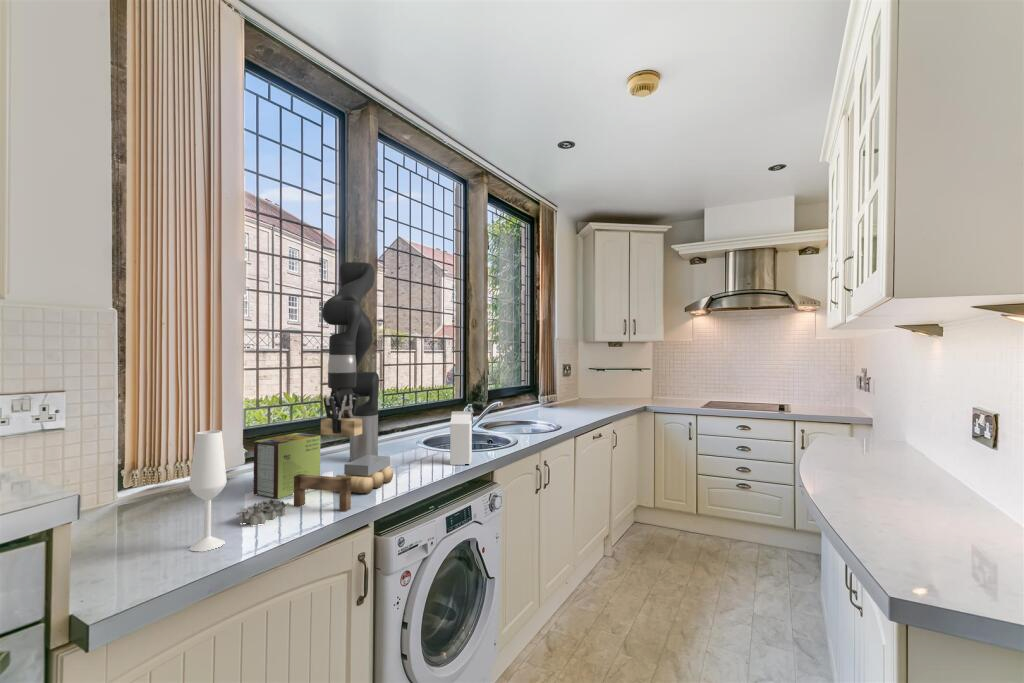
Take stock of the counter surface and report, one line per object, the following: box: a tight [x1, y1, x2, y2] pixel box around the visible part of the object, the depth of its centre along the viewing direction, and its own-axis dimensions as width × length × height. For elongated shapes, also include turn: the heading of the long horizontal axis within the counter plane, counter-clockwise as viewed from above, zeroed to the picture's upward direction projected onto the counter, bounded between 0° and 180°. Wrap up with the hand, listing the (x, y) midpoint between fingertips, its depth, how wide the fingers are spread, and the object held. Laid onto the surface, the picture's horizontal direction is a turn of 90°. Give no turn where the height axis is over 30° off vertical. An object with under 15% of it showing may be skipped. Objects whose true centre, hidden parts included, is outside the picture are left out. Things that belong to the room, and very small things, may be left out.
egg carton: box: [235, 497, 290, 526], centre depth 118 cm, size 11×8×4 cm
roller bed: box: [335, 467, 394, 494], centre depth 146 cm, size 11×16×4 cm, turn 166°
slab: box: [343, 455, 391, 476], centre depth 148 cm, size 8×13×3 cm, turn 166°
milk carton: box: [449, 410, 473, 466], centre depth 177 cm, size 7×7×19 cm
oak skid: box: [320, 417, 362, 437], centre depth 135 cm, size 11×4×4 cm, turn 75°
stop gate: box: [293, 474, 352, 512], centre depth 127 cm, size 16×2×8 cm, turn 76°
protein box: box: [252, 432, 321, 500], centre depth 143 cm, size 10×15×16 cm
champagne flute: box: [188, 429, 227, 552], centre depth 102 cm, size 7×7×24 cm
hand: (341, 431), depth 135 cm, fingers closed on oak skid, 4 cm apart
